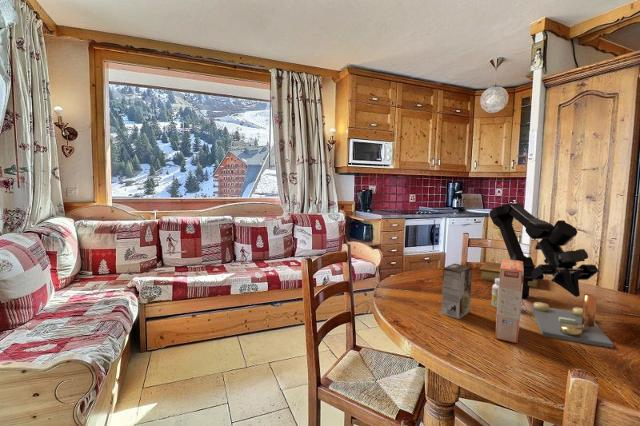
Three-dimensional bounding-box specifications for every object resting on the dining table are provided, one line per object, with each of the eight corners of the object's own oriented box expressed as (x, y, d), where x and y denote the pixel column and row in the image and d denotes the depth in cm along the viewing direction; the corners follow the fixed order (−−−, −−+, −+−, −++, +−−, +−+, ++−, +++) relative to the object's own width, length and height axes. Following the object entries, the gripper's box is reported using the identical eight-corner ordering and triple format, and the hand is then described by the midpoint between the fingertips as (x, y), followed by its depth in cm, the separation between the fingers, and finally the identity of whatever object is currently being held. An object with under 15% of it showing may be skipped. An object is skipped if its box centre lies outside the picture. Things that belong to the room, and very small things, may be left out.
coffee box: (452, 307, 118) (454, 263, 117) (470, 312, 114) (472, 266, 112) (440, 314, 112) (442, 267, 110) (459, 319, 107) (461, 271, 106)
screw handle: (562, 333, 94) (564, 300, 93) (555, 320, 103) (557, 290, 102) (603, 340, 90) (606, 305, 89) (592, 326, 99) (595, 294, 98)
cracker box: (519, 344, 91) (524, 270, 89) (494, 339, 94) (498, 267, 92) (519, 326, 102) (524, 260, 101) (498, 322, 106) (501, 258, 104)
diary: (539, 280, 155) (540, 268, 155) (538, 290, 140) (539, 277, 140) (485, 271, 168) (486, 260, 168) (479, 280, 153) (479, 268, 153)
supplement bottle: (509, 305, 120) (511, 279, 119) (505, 309, 116) (507, 282, 115) (493, 301, 124) (495, 276, 123) (489, 305, 120) (490, 279, 119)
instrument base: (542, 336, 96) (543, 326, 96) (531, 308, 117) (531, 300, 117) (613, 348, 89) (614, 338, 89) (587, 316, 111) (587, 308, 110)
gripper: (540, 239, 106) (564, 283, 96) (596, 240, 106) (626, 283, 96) (522, 258, 114) (543, 300, 104) (574, 258, 115) (600, 300, 105)
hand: (577, 296), depth 102 cm, fingers closed
